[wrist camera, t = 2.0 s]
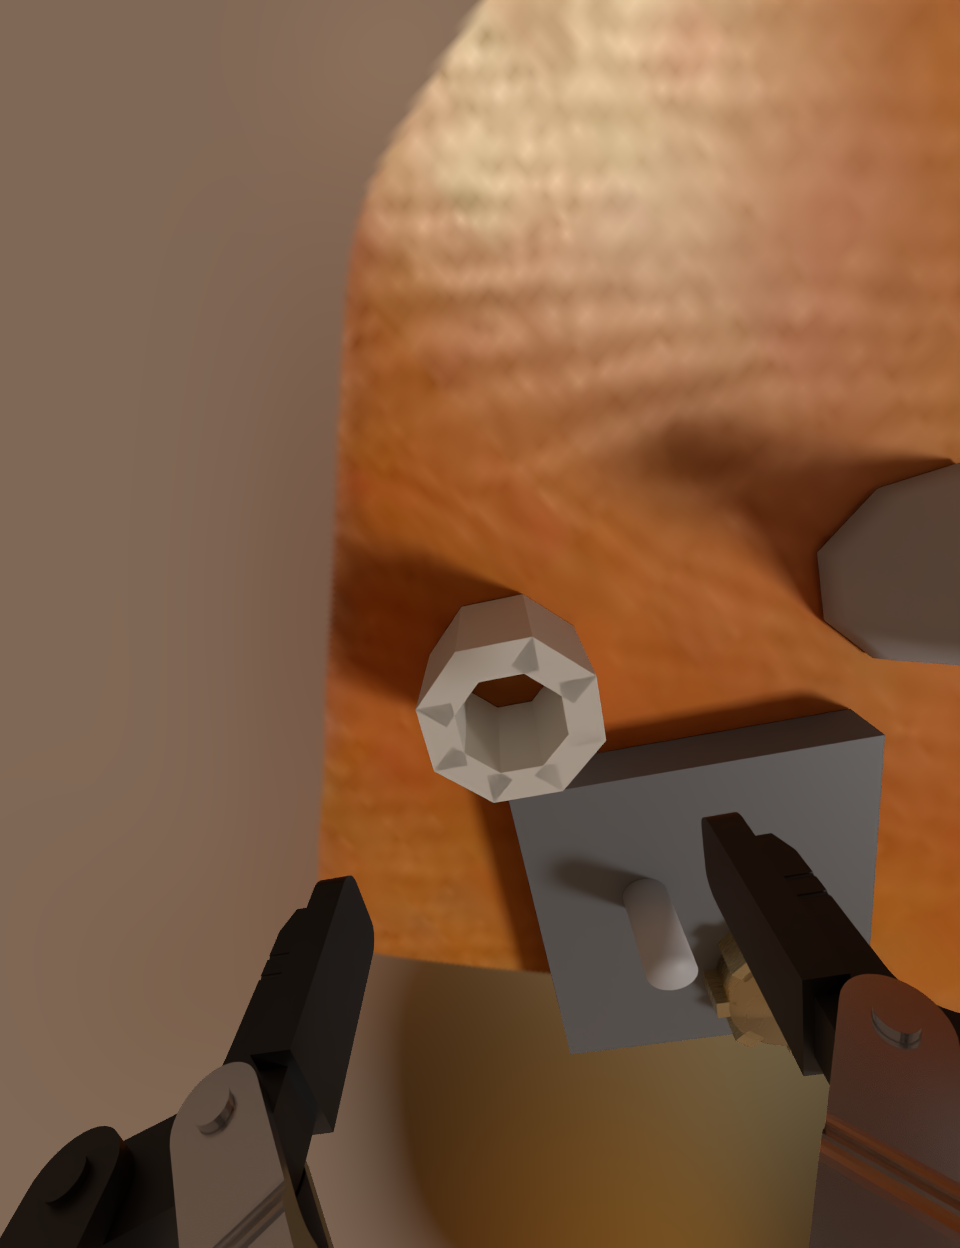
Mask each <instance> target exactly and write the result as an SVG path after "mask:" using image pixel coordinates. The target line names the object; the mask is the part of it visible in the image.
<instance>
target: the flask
mask: <svg viewBox="0 0 960 1248" xmlns="http://www.w3.org/2000/svg"><path fill="white" fill-rule="evenodd" d="M817 559H818V568H819V578H820V587H821V597H822V606H823V616H824V621H826V622H827V623H828V624H829V625H831V626H832V627H833V628H835V629H836V630H837V631H839V632H840V633H841V634H842V635H844V636H845V637H846V638H848V639H849V640H850V641H851V642H853V643H854V644H855V645H857V646H858V647H859V648H861V649H862V650H863V651H864V652H866V653H867V654H868V655H870V656H871V657H872V658H878V659H887V660H897V661H910V662H923V663H936V664H949V665H960V463H957V464H954V465H950V466H947V467H944V468H941V469H938V470H935V471H931V472H928V473H925V474H922V475H919V476H915V477H912V478H909V479H906V480H903V481H900V482H896V483H893V484H890V485H887V486H884V487H880V488H877V489H876V490H875V492H874V493H873V494H872V495H871V496H870V497H869V498H868V499H867V500H866V501H865V502H864V503H863V504H862V505H861V506H860V507H859V509H858V510H857V511H856V512H855V513H854V514H853V515H852V516H851V517H850V518H849V519H848V520H847V521H846V522H845V523H844V524H843V526H842V527H841V528H840V529H839V530H838V531H837V532H836V533H835V534H834V535H833V536H832V537H831V538H830V539H829V540H828V541H827V543H826V544H825V545H824V546H823V547H822V548H821V549H820V550H819V551H818V552H817Z"/></svg>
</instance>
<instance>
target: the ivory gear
mask: <svg viewBox="0 0 960 1248" xmlns="http://www.w3.org/2000/svg"><path fill="white" fill-rule="evenodd" d="M519 674H525V675H527V676H529V677H530V678H532V679H534V680H535V681H537V682H539V683H541V684H542V685H544V686H543V687H542V689H541V690H540V691H539V693H538V694H537V695H536V697H535V698H534V699H533V700H532V701H531V702H525V703H520V704H514V705H509V706H504V707H496V706H494V705H492V704H491V703H489V702H487V701H485V700H484V699H482V698H480V697H478V696H477V695H475V694H473V693H471V692H472V691H473V689H474V688H475V687H476V685H477V684H478V682H483V681H488V680H493V679H499V678H504V677H509V676H514V675H519ZM416 713H417V716H418V719H419V723H420V726H421V729H422V733H423V736H424V739H425V743H426V746H427V749H428V753H429V756H430V759H431V763H432V766H433V769H434V771H435V772H437V773H439V774H440V775H442V776H444V777H446V778H448V779H450V780H452V781H454V782H455V783H457V784H459V785H461V786H463V787H465V788H467V789H469V790H471V791H472V792H474V793H476V794H478V795H480V796H482V797H484V798H486V799H488V800H489V801H491V802H493V803H496V802H502V801H508V800H514V799H519V798H525V797H531V796H537V795H543V794H549V793H555V792H561V791H563V790H564V789H565V788H566V787H567V786H568V785H569V783H570V782H571V781H572V780H573V779H574V778H575V776H576V775H577V774H578V773H579V772H580V771H581V769H582V768H583V767H584V766H585V765H586V764H587V762H588V761H589V760H590V759H591V758H592V757H593V755H594V754H595V753H596V752H597V751H598V750H599V748H600V747H601V746H602V745H603V744H604V743H605V741H606V736H605V729H604V723H603V716H602V710H601V703H600V697H599V690H598V684H597V677H596V674H595V672H594V669H593V667H592V665H591V663H590V661H589V659H588V656H587V654H586V652H585V650H584V648H583V646H582V643H581V641H580V639H579V637H578V635H577V633H576V630H575V628H574V626H572V625H571V624H569V623H568V622H566V621H564V620H563V619H561V618H560V617H558V616H557V615H555V614H553V613H552V612H550V611H549V610H547V609H545V608H544V607H542V606H541V605H539V604H537V603H536V602H534V601H533V600H531V599H529V598H528V597H526V596H525V595H523V594H521V595H516V596H511V597H506V598H502V599H497V600H492V601H487V602H482V603H477V604H472V605H467V606H463V607H461V608H460V610H459V611H458V613H457V614H456V616H455V617H454V619H453V620H452V622H451V623H450V625H449V626H448V628H447V629H446V631H445V632H444V634H443V635H442V637H441V638H440V640H439V641H438V643H437V644H436V646H435V647H434V649H433V650H432V652H431V653H430V655H429V659H428V663H427V667H426V671H425V675H424V679H423V683H422V687H421V690H420V694H419V698H418V702H417V706H416Z"/></svg>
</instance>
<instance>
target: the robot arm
mask: <svg viewBox="0 0 960 1248" xmlns="http://www.w3.org/2000/svg"><path fill="white" fill-rule="evenodd" d="M701 827H702V838H703V849H704V859H705V869H706V875H707V879H708V883H709V886H710V889H711V892H712V895H713V897H714V899H715V902H716V904H717V906H718V908H719V910H720V912H721V914H722V916H723V918H724V919H725V921H726V923H727V925H728V927H729V929H730V931H731V933H732V935H733V937H734V939H735V941H736V943H737V945H738V947H739V949H740V951H741V953H742V955H743V957H744V959H745V961H746V963H747V965H748V967H749V969H750V971H751V973H752V975H753V977H754V979H755V981H756V983H757V985H758V987H759V989H760V991H761V993H762V995H763V997H764V999H765V1001H766V1003H767V1005H768V1007H769V1009H770V1011H771V1012H772V1014H773V1016H774V1018H775V1020H776V1022H777V1024H778V1026H779V1028H780V1030H781V1032H782V1034H783V1036H784V1038H785V1040H786V1042H787V1044H788V1046H789V1048H790V1050H791V1052H792V1054H793V1056H794V1058H795V1060H796V1062H797V1064H798V1066H799V1068H800V1070H801V1072H802V1074H803V1076H808V1075H816V1074H824V1076H825V1077H826V1079H827V1081H828V1083H829V1085H830V1087H829V1097H828V1106H827V1115H826V1123H825V1128H824V1129H823V1132H822V1138H821V1145H820V1153H819V1161H818V1171H817V1180H816V1189H815V1197H814V1207H813V1215H812V1224H811V1233H810V1242H809V1248H960V1013H957V1012H954V1011H951V1010H948V1009H945V1008H942V1007H940V1006H938V1005H936V1004H935V1003H934V1002H933V1001H932V1000H931V999H929V998H928V997H927V996H926V995H924V994H923V993H922V992H920V991H919V990H917V989H916V988H914V987H912V986H910V985H908V984H907V983H904V982H902V981H900V980H898V979H897V978H896V977H895V976H894V975H893V974H892V973H891V972H890V971H889V970H888V969H887V967H886V966H885V965H884V964H883V962H882V961H881V960H880V958H879V957H878V956H877V955H876V953H875V952H874V951H873V949H872V948H871V947H870V945H869V944H868V943H867V942H866V940H865V939H864V938H863V936H862V935H861V934H860V932H859V931H858V930H857V929H856V927H855V926H854V925H853V923H852V922H851V921H850V919H849V918H848V917H847V916H846V914H845V913H844V912H843V910H842V909H841V908H840V906H839V905H838V904H837V903H836V901H835V900H834V899H833V897H832V896H831V895H829V894H828V892H827V890H826V888H825V887H824V886H823V884H822V883H821V882H820V880H819V879H818V878H817V877H816V876H814V874H813V871H812V870H811V869H810V867H809V866H808V865H807V864H806V862H805V861H804V860H803V858H802V857H801V856H800V854H799V853H798V852H797V851H796V850H795V849H794V848H793V847H791V846H790V845H788V844H787V843H785V842H784V841H782V840H781V839H780V838H778V837H777V836H775V835H774V834H772V833H768V834H762V835H756V836H755V834H754V833H753V831H752V830H751V829H750V827H749V826H748V824H747V823H746V821H745V820H744V818H743V817H742V816H741V815H740V814H739V813H738V812H732V813H726V814H720V815H714V816H708V817H703V818H702V820H701ZM373 950H374V931H373V925H372V922H371V919H370V916H369V914H368V911H367V909H366V906H365V903H364V901H363V898H362V896H361V893H360V891H359V888H358V886H357V883H356V881H355V879H354V877H352V876H344V877H339V878H333V879H327V880H321V881H319V882H318V883H317V884H316V885H315V888H314V890H313V893H312V895H311V898H310V900H309V903H308V906H307V908H303V909H297V910H296V912H295V913H294V914H293V915H292V916H291V918H290V919H289V920H288V922H287V923H286V924H285V925H284V927H283V928H282V929H281V930H280V932H279V934H278V937H277V939H276V942H275V944H274V946H273V949H272V951H271V953H270V959H269V960H267V963H266V965H265V967H264V970H263V972H262V975H261V976H262V977H261V980H259V982H258V984H257V986H256V989H255V991H254V993H253V996H252V998H251V1000H250V1003H249V1005H248V1008H247V1010H246V1012H245V1015H244V1017H243V1019H242V1022H241V1024H240V1026H239V1029H238V1031H237V1033H236V1036H235V1038H234V1041H233V1043H232V1045H231V1048H230V1050H229V1052H228V1055H227V1057H226V1059H225V1061H224V1063H223V1065H222V1066H221V1067H220V1068H218V1069H216V1070H214V1071H213V1072H212V1073H210V1074H209V1075H208V1076H206V1077H205V1078H204V1079H203V1080H202V1081H201V1082H200V1083H199V1084H198V1085H197V1086H196V1087H195V1088H194V1089H193V1090H192V1092H191V1093H190V1094H189V1096H188V1097H187V1098H186V1100H185V1101H184V1103H183V1104H182V1106H181V1108H180V1110H179V1112H178V1113H177V1114H175V1115H174V1116H172V1117H170V1118H168V1119H166V1120H164V1121H162V1122H160V1123H158V1124H156V1125H154V1126H152V1127H150V1128H148V1129H146V1130H144V1131H142V1132H140V1133H138V1134H137V1135H134V1136H132V1137H131V1138H129V1139H127V1140H125V1141H123V1140H122V1138H121V1137H120V1136H119V1134H118V1133H117V1132H116V1131H115V1129H113V1128H111V1127H108V1126H100V1127H96V1128H93V1129H90V1130H88V1131H86V1132H84V1133H82V1134H81V1135H79V1136H77V1137H76V1138H74V1139H73V1140H72V1141H70V1142H69V1143H68V1144H67V1145H65V1146H64V1147H63V1148H62V1149H61V1150H60V1151H59V1152H58V1153H57V1154H56V1155H55V1156H54V1157H53V1158H52V1159H51V1160H50V1161H49V1162H48V1163H47V1164H46V1166H45V1167H44V1168H43V1169H42V1170H41V1172H40V1173H39V1175H38V1176H37V1177H36V1179H35V1180H34V1181H33V1183H32V1185H31V1186H30V1188H29V1189H28V1191H27V1193H26V1194H25V1196H24V1198H23V1200H22V1201H21V1203H20V1205H19V1206H18V1208H17V1210H16V1212H15V1213H14V1215H13V1217H12V1219H11V1220H10V1222H9V1224H8V1226H7V1227H6V1229H5V1231H4V1232H3V1234H2V1236H1V1238H0V1248H334V1247H333V1244H332V1240H331V1237H330V1234H329V1231H328V1228H327V1224H326V1221H325V1218H324V1214H323V1211H322V1208H321V1205H320V1202H319V1198H318V1195H317V1192H316V1189H315V1186H314V1182H313V1179H312V1176H311V1173H310V1169H309V1166H308V1164H307V1162H306V1157H307V1153H308V1149H309V1145H310V1141H311V1137H312V1135H315V1134H323V1133H330V1132H333V1131H334V1127H335V1123H336V1118H337V1114H338V1109H339V1104H340V1100H341V1096H342V1091H343V1087H344V1082H345V1078H346V1072H347V1068H348V1064H349V1059H350V1055H351V1050H352V1046H353V1041H354V1036H355V1032H356V1028H357V1023H358V1019H359V1014H360V1010H361V1005H362V1001H363V996H364V992H365V987H366V983H367V978H368V973H369V969H370V965H371V960H372V956H373Z"/></svg>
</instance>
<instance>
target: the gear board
mask: <svg viewBox="0 0 960 1248" xmlns="http://www.w3.org/2000/svg"><path fill="white" fill-rule="evenodd" d="M884 741H885V735H884V734H883V733H882V732H880V731H879V730H878V729H876V728H875V727H874V726H872V725H871V724H870V723H868V722H867V721H866V720H864V719H863V718H862V717H860V716H859V715H858V714H856V713H855V712H854V711H852V710H851V709H847V710H841V711H836V712H830V713H824V714H819V715H813V716H807V717H802V718H796V719H790V720H784V721H779V722H773V723H767V724H762V725H756V726H750V727H745V728H739V729H733V730H728V731H722V732H716V733H710V734H705V735H699V736H693V737H688V738H682V739H676V740H671V741H665V742H659V743H653V744H648V745H642V746H636V747H631V748H625V749H619V750H614V751H608V752H602V753H597V754H594V755H593V757H592V758H591V759H590V760H589V761H588V762H587V764H586V765H585V766H584V767H583V768H582V769H581V771H580V772H579V773H578V774H577V775H576V776H575V778H574V779H573V780H572V781H571V782H570V783H569V785H568V786H567V787H566V788H565V789H564V790H563V791H561V792H555V793H549V794H543V795H537V796H531V797H525V798H519V799H514V800H509V803H510V808H511V812H512V816H513V820H514V824H515V828H516V832H517V836H518V840H519V844H520V849H521V853H522V857H523V861H524V865H525V869H526V873H527V877H528V881H529V885H530V890H531V894H532V898H533V902H534V906H535V910H536V914H537V918H538V922H539V926H540V931H541V935H542V939H543V943H544V947H545V951H546V955H547V959H548V963H549V967H550V972H551V976H552V980H553V984H554V988H555V992H556V996H557V1000H558V1004H559V1008H560V1012H561V1016H562V1021H563V1025H564V1029H565V1033H566V1036H567V1041H568V1045H569V1049H570V1054H578V1053H586V1052H594V1051H601V1050H609V1049H617V1048H625V1047H633V1046H642V1045H649V1044H658V1043H665V1042H673V1041H681V1040H688V1039H697V1038H705V1037H713V1036H721V1035H729V1034H733V1033H732V1031H731V1028H730V1026H729V1023H728V1021H727V1019H726V1017H724V1018H717V1015H716V1013H715V1010H714V1008H713V1005H712V1003H711V1000H710V998H709V995H708V993H707V990H706V988H705V985H704V974H703V971H710V970H716V966H717V963H718V960H719V958H720V956H721V955H722V953H721V951H720V949H719V947H718V945H717V943H718V942H719V941H720V940H721V939H722V938H723V937H725V936H726V935H727V934H728V933H729V932H730V929H729V927H728V925H727V923H726V921H725V919H724V918H723V916H722V914H721V912H720V910H719V908H718V906H717V904H716V902H715V899H714V897H713V895H712V892H711V889H710V886H709V883H708V879H707V875H706V869H705V859H704V849H703V838H702V827H701V820H702V818H703V817H708V816H714V815H720V814H726V813H732V812H738V813H739V814H740V815H741V816H742V817H743V818H744V820H745V821H746V823H747V824H748V826H749V827H750V829H751V830H752V831H753V833H754V834H755V836H756V835H762V834H768V833H772V834H774V835H775V836H777V837H778V838H780V839H781V840H782V841H784V842H785V843H787V844H788V845H790V846H791V847H793V848H794V849H795V850H796V851H797V852H798V853H799V854H800V856H801V857H802V858H803V860H804V861H805V862H806V864H807V865H808V866H809V867H810V869H811V870H812V871H813V874H814V876H816V877H817V878H818V879H819V880H820V882H821V883H822V884H823V886H824V887H825V888H826V890H827V892H828V894H829V895H831V896H832V897H833V899H834V900H835V901H836V903H837V904H838V905H839V906H840V908H841V909H842V910H843V912H844V913H845V914H846V916H847V917H848V918H849V919H850V921H851V922H852V923H853V925H854V926H855V927H856V929H857V930H858V931H859V932H860V934H861V935H862V936H863V938H864V939H865V940H866V942H867V943H868V944H869V945H870V938H871V924H872V909H873V895H874V881H875V867H876V853H877V839H878V825H879V811H880V797H881V783H882V769H883V755H884Z"/></svg>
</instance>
